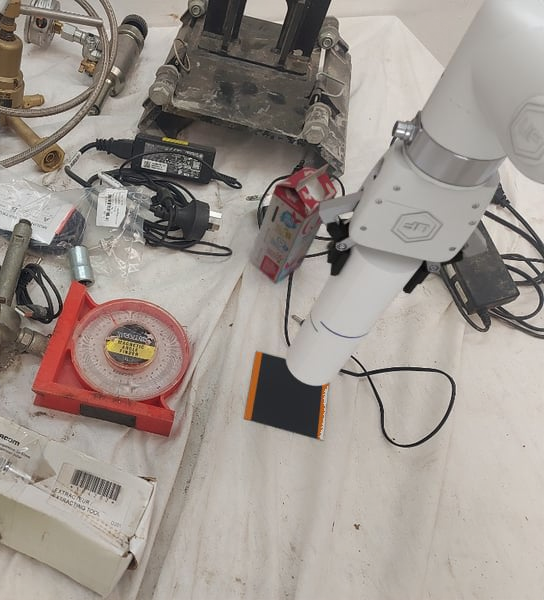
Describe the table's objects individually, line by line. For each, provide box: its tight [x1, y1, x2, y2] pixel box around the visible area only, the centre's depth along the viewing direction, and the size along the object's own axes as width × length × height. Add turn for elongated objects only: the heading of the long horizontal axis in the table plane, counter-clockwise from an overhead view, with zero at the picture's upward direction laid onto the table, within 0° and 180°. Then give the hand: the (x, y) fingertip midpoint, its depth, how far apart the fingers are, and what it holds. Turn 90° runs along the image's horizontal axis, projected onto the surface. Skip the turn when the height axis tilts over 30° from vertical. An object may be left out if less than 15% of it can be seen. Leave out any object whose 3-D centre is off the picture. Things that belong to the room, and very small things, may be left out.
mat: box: [243, 350, 330, 440], centre depth 89 cm, size 12×12×1 cm
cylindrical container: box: [285, 243, 423, 386], centre depth 69 cm, size 7×7×25 cm
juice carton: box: [248, 163, 338, 285], centre depth 94 cm, size 7×7×22 cm
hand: (370, 273), depth 62 cm, fingers closed on cylindrical container, 7 cm apart
